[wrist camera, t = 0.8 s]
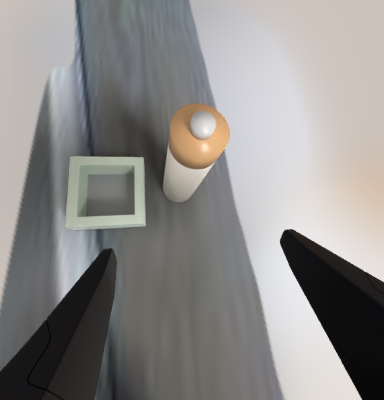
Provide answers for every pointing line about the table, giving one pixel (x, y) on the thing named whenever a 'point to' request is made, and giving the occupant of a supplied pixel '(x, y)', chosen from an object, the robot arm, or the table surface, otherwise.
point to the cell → (192, 149)
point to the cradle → (105, 193)
